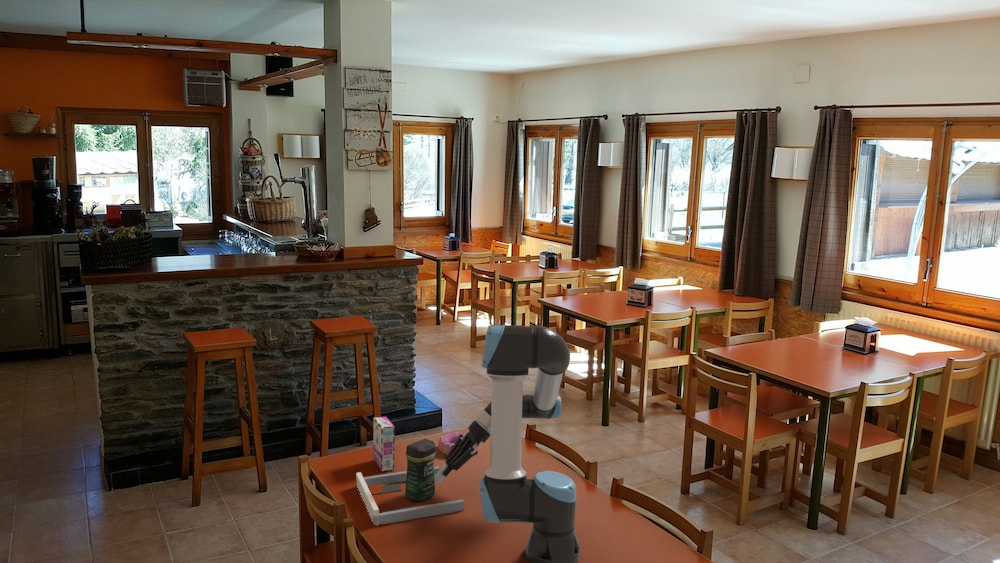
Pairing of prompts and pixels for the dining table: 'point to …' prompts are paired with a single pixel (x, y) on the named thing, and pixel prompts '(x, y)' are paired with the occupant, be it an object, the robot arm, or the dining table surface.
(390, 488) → the trap pads
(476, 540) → the dining table surface
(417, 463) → the coffee jar
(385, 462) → the candy bar box
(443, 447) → the donut
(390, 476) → the channel
